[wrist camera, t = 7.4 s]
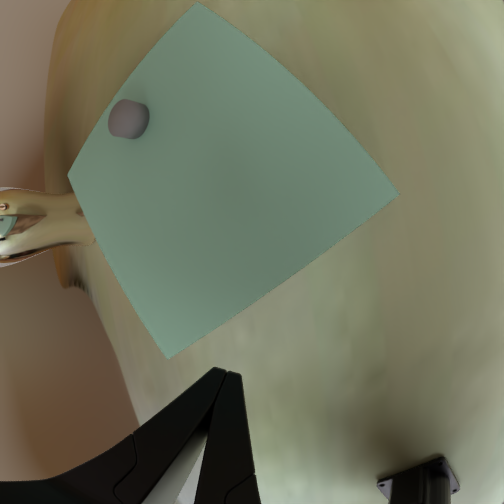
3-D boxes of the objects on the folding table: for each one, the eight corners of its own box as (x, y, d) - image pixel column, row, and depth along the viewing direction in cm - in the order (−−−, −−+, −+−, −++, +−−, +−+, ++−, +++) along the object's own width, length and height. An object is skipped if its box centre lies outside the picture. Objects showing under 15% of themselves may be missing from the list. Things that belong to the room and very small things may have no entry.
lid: (398, 194, 10) (402, 192, 8) (178, 352, 16) (153, 368, 14) (207, 9, 12) (184, -9, 10) (78, 175, 18) (53, 175, 16)
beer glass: (65, 209, 30) (-48, 222, 16) (90, 171, 27) (-42, 173, 13) (83, 261, 29) (-37, 288, 16) (111, 227, 26) (-36, 248, 12)
